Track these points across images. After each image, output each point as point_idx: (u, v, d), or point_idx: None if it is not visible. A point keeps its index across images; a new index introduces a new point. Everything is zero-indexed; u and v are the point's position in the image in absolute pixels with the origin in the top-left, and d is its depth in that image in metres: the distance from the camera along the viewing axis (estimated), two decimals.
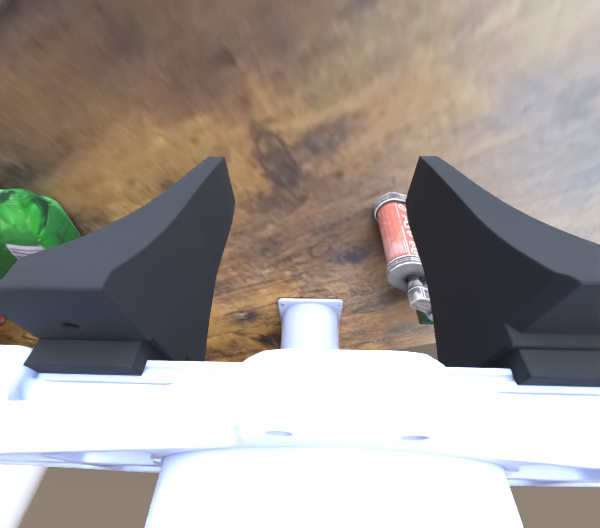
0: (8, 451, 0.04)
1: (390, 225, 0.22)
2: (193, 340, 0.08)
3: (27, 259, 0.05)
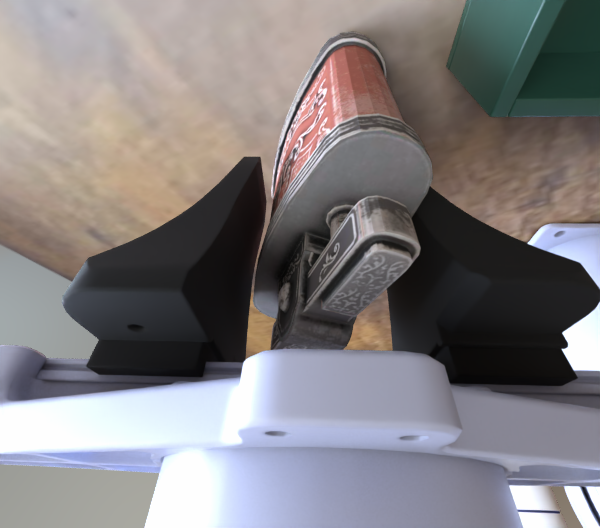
0: (8, 451, 0.04)
1: None
2: (238, 341, 0.08)
3: (96, 260, 0.05)
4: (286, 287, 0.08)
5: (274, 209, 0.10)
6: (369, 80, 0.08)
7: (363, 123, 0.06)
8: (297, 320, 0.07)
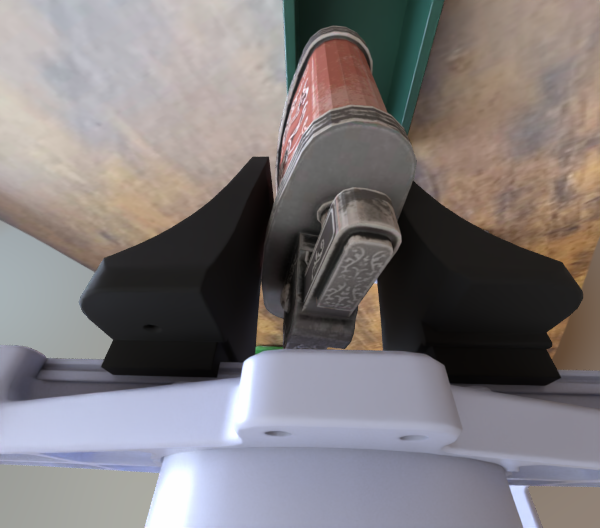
0: (8, 451, 0.04)
1: None
2: (249, 341, 0.08)
3: (112, 260, 0.05)
4: (286, 288, 0.08)
5: None
6: (347, 71, 0.08)
7: (334, 117, 0.06)
8: (297, 319, 0.07)
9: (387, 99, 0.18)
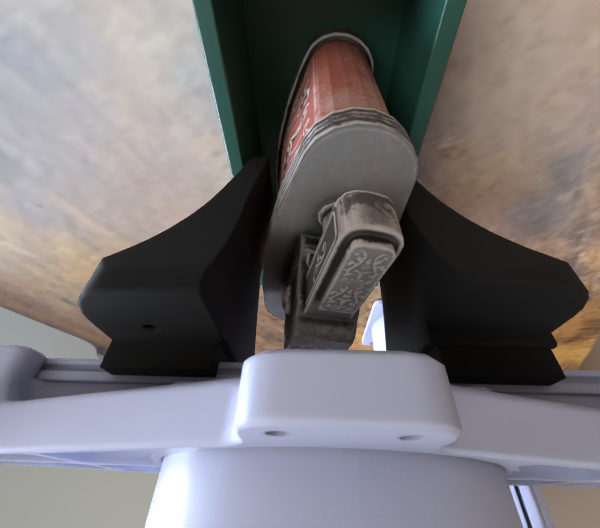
0: (8, 451, 0.04)
1: None
2: (248, 341, 0.08)
3: (111, 260, 0.05)
4: (287, 290, 0.08)
5: None
6: (349, 73, 0.08)
7: (336, 119, 0.06)
8: (299, 321, 0.07)
9: None
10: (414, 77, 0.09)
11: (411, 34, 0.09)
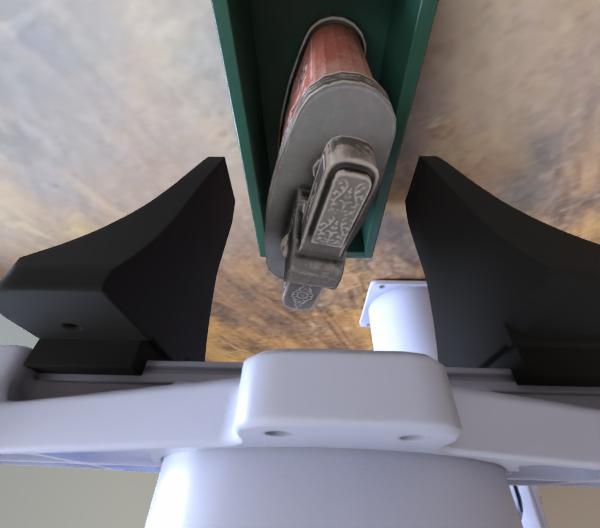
0: (8, 451, 0.04)
1: None
2: (193, 340, 0.08)
3: (27, 259, 0.05)
4: (286, 236, 0.09)
5: None
6: (341, 48, 0.09)
7: (327, 80, 0.07)
8: (295, 257, 0.08)
9: None
10: (401, 55, 0.10)
11: (399, 17, 0.10)
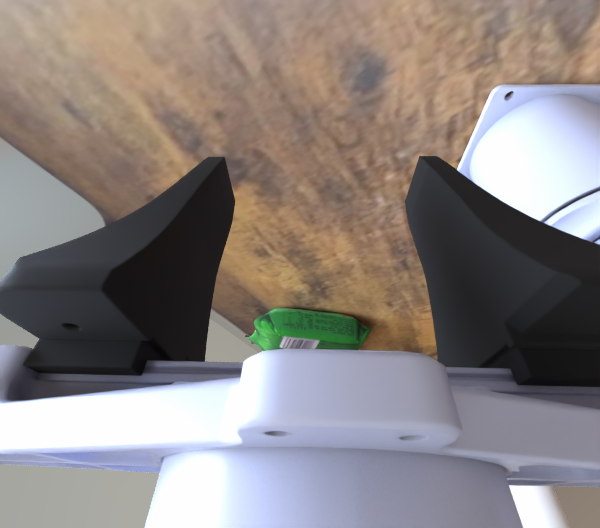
0: (8, 451, 0.04)
1: None
2: (193, 340, 0.08)
3: (27, 259, 0.05)
4: None
5: None
6: None
7: None
8: None
9: None
10: None
11: None
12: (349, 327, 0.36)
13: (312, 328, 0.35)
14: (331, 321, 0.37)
